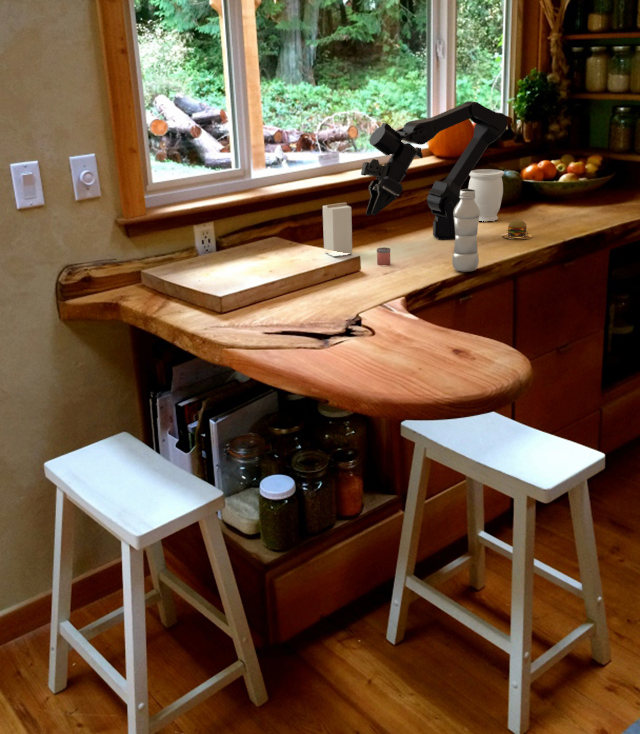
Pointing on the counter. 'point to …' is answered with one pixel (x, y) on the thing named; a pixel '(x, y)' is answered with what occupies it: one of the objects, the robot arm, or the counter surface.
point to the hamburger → (517, 228)
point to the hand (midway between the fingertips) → (370, 214)
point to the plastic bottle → (466, 232)
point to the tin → (383, 256)
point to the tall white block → (337, 227)
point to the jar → (487, 192)
